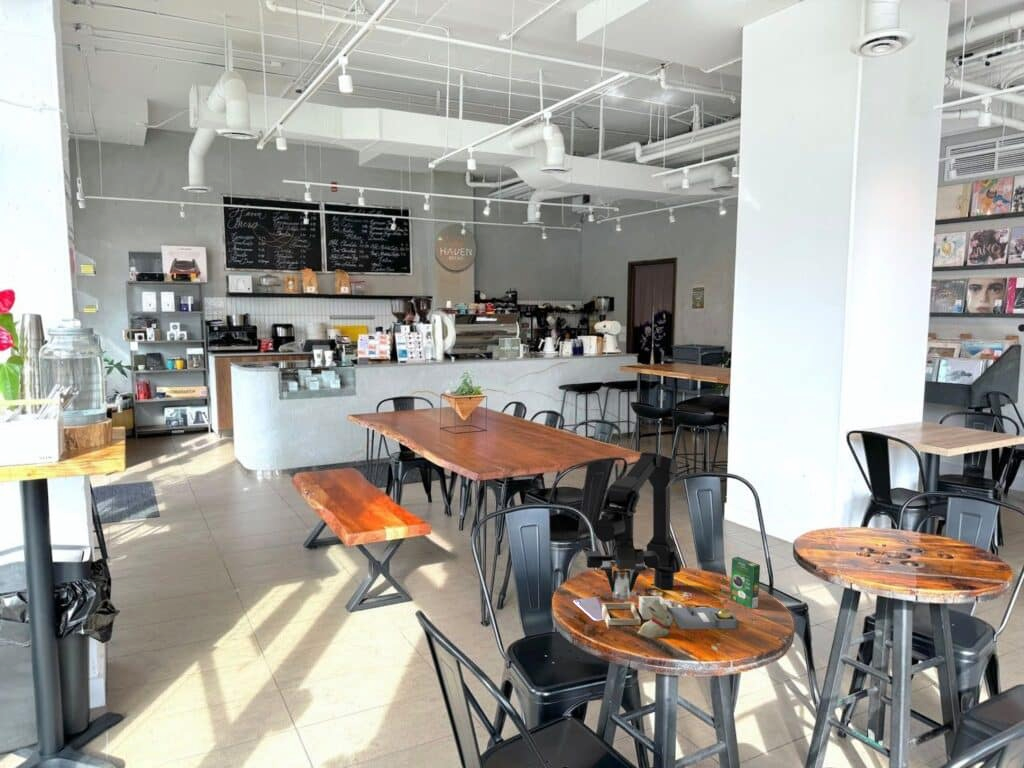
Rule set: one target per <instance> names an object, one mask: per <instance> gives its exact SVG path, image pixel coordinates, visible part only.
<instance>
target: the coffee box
mask: <svg viewBox="0 0 1024 768" xmlns="http://www.w3.org/2000/svg"><path fill="white" fill-rule="evenodd" d="M730 573H731V574H730V575H731V576H730V596H729V597H730V598H729V599H730V600H731V601H732V602H735V603H737V604H739V605H742V606H743V607H745V608H747V609H751V610H752V609H756V608H759V593H760V591H759V590H760V578H761V577H760V573H761V565H760V564H758V563H755V562H753V561H751V560H748V559H746V558H743V557H740V556H735V557H731V572H730Z"/></svg>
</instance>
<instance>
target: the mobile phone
mask: <svg viewBox="0 0 1024 768" xmlns="http://www.w3.org/2000/svg"><path fill="white" fill-rule="evenodd" d="M572 602H573V603H574V604H575V605H576V606H577V607H578V608H579V609H580V610H582V612H584V613H585V614H586V615H587V616H588V617H589V618H591V620H593V621H595V622H601V621H602V622H603V621H605V618H604V615H603V612H602V603H601V600H600V599H599V598H598V597H595V596H594V597H585V598H578V599H577V598H576V599H573V601H572Z"/></svg>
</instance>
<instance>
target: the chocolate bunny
mask: <svg viewBox="0 0 1024 768" xmlns="http://www.w3.org/2000/svg"><path fill="white" fill-rule="evenodd" d="M647 608H648V609H649V610H650V612H651V614H652V618H651V619H649V620H648V621H646V622H644V623H643V624H642V625H640V626H641V627H639V630H638V632H637V634H638V635H640V636H642V637H647V638H652V639H654V638H656V639H657V638H667V637H668V636H669V634H670V632H672V629H671V628H670V627H671V626H672V624H673V622H674V618H673V617H672V615H671V613H669V612H668V611H666V610H665V609H664V608H663V607H662V605H661V604H660V603H659V602H658V600H656V599H654V601H653V602H652V603H650V604H648V605H647Z"/></svg>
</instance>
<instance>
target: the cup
mask: <svg viewBox="0 0 1024 768" xmlns="http://www.w3.org/2000/svg"><path fill="white" fill-rule="evenodd" d="M654 599H656V600H658V602H659V603H660V604H661V605H662V607H663V608H664V609H665V610H666V611H667V605H668V604H667V603H666V602H665V600H664V598H663V596H661V595H660V596H658V595H657V596H655V595H653V596H652V595H651V596H648V595H647V596H641V595H640V596H638V612H639V614H640V615H641V619H642V620H651V618H652V614H651V612H650V610H649V609H648V608H647V605H648V604H650V603H652V602H653V601H654ZM666 604H667V605H666Z"/></svg>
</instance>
